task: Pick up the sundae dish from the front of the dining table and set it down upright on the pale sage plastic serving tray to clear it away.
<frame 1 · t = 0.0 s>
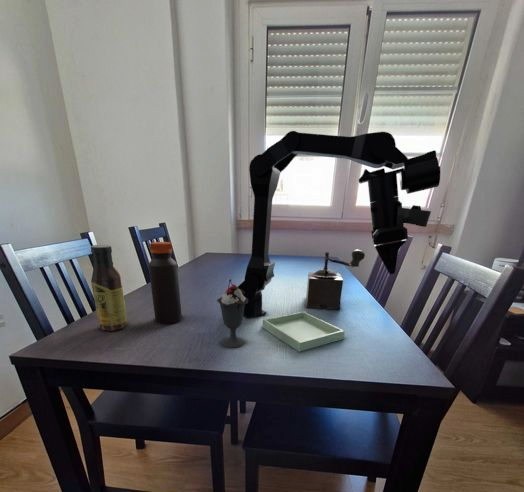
hand: (390, 270, 66), 15 cm above the table, tool pointing down, fingers open, 9 cm apart
sundae: (233, 343, 63), on the table
sauce bottle: (114, 328, 70), on the table
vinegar: (168, 320, 75), on the table
manual coffee grinder: (329, 305, 90), on the table
serving tray: (301, 332, 69), on the table
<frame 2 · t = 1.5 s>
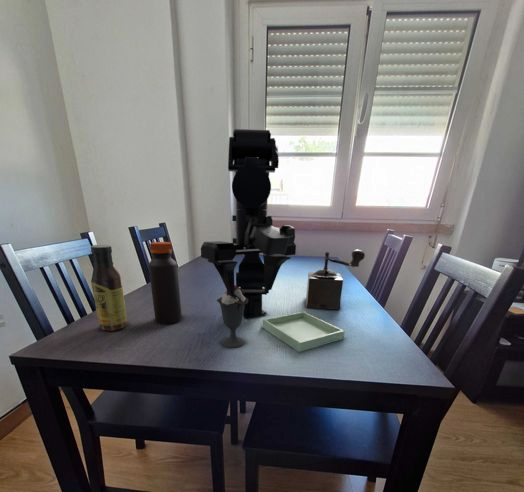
hand: (251, 292, 57), 12 cm above the table, tool pointing down, fingers open, 9 cm apart
nothing on the table moved.
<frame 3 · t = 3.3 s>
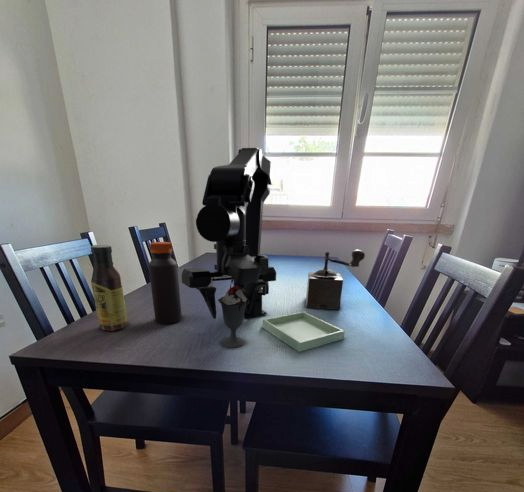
hand: (231, 315, 60), 7 cm above the table, tool pointing down, fingers closed on sundae, 7 cm apart
sundae: (233, 343, 63), on the table, touching gripper
everything else where it was.
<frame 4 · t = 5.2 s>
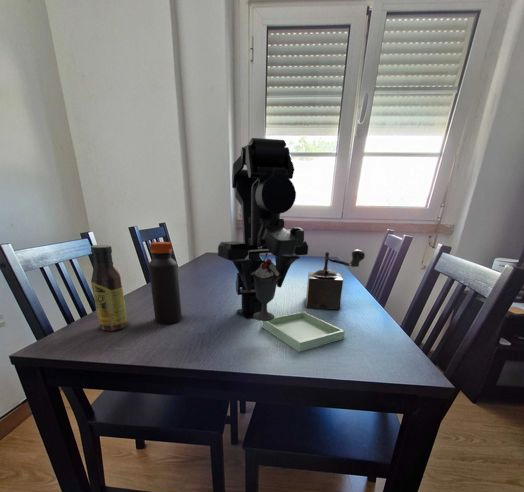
hand: (263, 289, 61), 12 cm above the table, tool pointing down, fingers closed on sundae, 7 cm apart
sundae: (263, 317, 65), point 5 cm above the table, touching gripper
everything else where it was.
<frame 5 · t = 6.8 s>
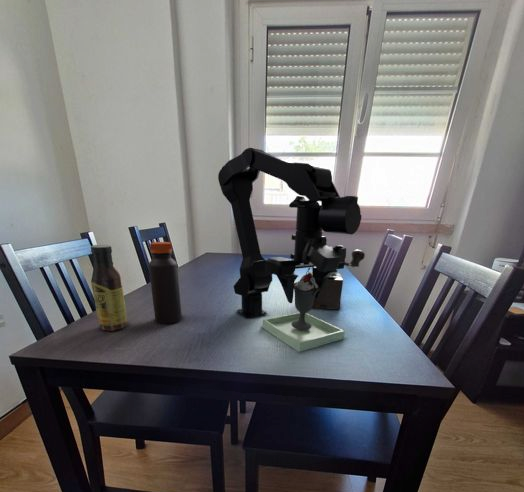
hand: (303, 300, 66), 8 cm above the table, tool pointing down, fingers closed on sundae, 7 cm apart
sundae: (301, 326, 70), point 1 cm above the table, touching gripper
everything else where it was.
when the fingers open (8 cm above the table, at t = 7.6 s): sundae stays where it is, resting on serving tray.
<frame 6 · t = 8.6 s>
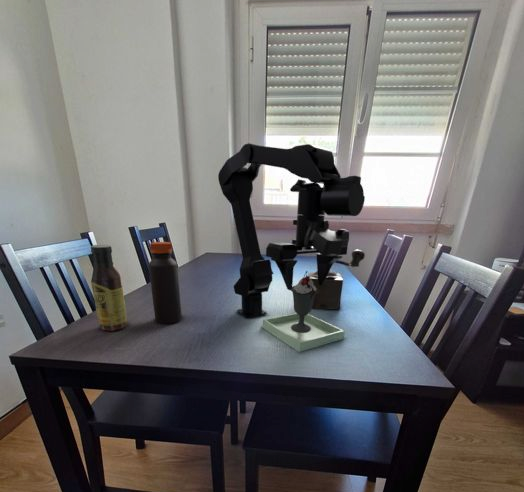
hand: (305, 287, 65), 12 cm above the table, tool pointing down, fingers open, 9 cm apart
sundae: (301, 329, 70), point 1 cm above the table, touching serving tray
everything else where it was.
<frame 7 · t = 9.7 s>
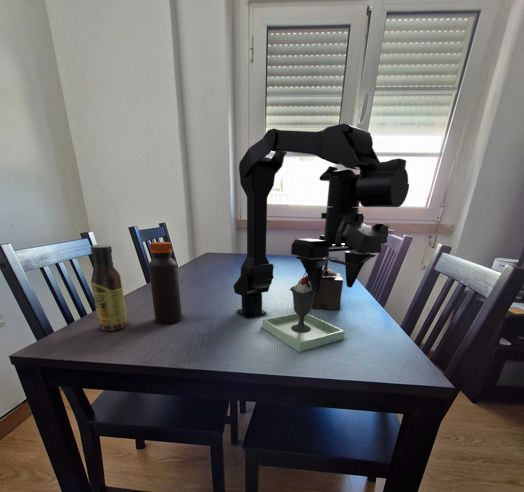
hand: (333, 289, 57), 13 cm above the table, tool pointing down, fingers open, 9 cm apart
nothing on the table moved.
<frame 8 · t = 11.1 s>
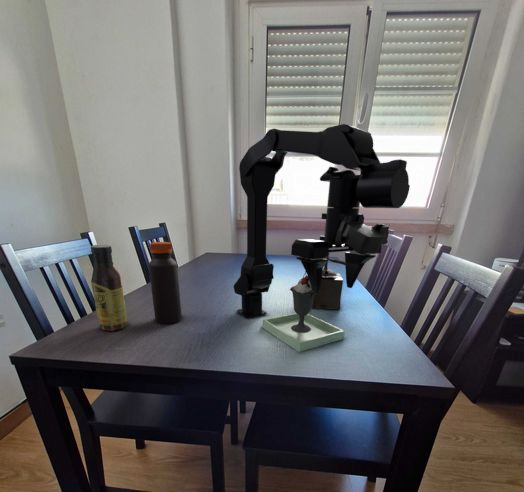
hand: (333, 290, 57), 13 cm above the table, tool pointing down, fingers open, 9 cm apart
nothing on the table moved.
at the end: sundae inside the target area in the serving tray (1.2 cm from its centre), point 0.4 cm above the serving tray's base; sundae tilted 0°; the gripper is holding nothing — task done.
